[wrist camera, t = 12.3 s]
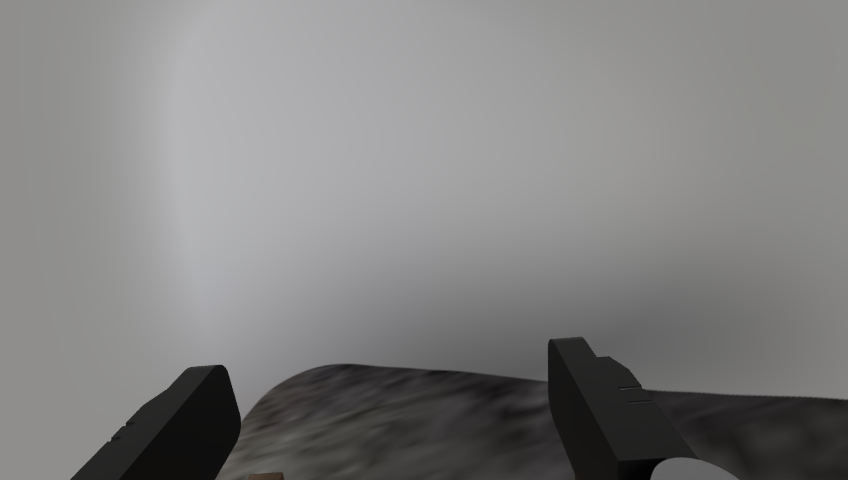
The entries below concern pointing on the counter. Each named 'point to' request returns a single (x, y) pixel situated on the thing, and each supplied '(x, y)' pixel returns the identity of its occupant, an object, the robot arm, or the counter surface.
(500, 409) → the counter surface
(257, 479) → the wooden legged stool
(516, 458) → the counter surface
